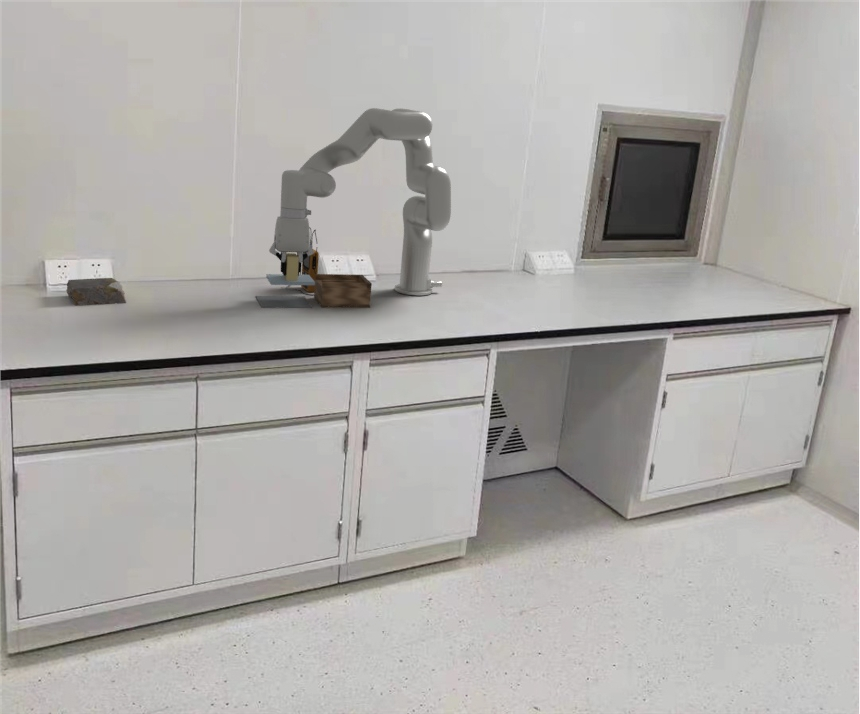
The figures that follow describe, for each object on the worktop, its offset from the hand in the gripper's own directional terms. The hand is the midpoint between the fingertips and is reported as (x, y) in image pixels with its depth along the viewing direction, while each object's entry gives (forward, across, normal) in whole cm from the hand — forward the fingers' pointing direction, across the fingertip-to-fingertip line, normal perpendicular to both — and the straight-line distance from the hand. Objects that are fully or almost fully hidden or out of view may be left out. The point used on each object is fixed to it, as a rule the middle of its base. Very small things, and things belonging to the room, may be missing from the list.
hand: (290, 274), depth 258 cm
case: (+9, -16, 0) cm, 18 cm away
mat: (+9, +2, 0) cm, 9 cm away
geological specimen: (+9, +55, -2) cm, 56 cm away
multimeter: (+9, -5, -15) cm, 18 cm away
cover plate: (+2, 0, 0) cm, 2 cm away
